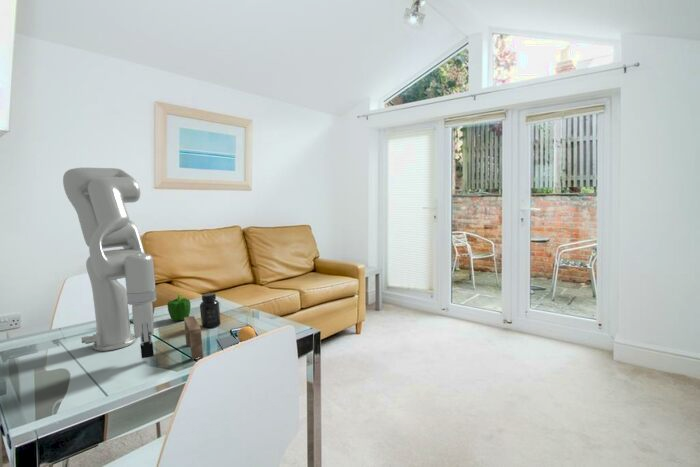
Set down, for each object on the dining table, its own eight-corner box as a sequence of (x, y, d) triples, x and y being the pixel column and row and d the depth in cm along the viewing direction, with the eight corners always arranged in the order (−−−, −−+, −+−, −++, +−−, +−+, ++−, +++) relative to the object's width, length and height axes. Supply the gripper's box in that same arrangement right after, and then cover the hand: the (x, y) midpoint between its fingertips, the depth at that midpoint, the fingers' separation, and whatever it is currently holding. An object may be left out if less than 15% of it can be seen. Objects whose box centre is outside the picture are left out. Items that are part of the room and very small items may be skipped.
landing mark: (224, 351, 122) (224, 350, 122) (216, 339, 132) (216, 338, 132) (261, 343, 127) (261, 342, 127) (251, 332, 138) (251, 331, 138)
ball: (253, 347, 126) (237, 343, 123) (249, 343, 131) (234, 339, 128) (259, 330, 127) (243, 326, 124) (255, 327, 132) (240, 323, 129)
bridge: (192, 360, 116) (190, 330, 115) (186, 344, 128) (184, 317, 127) (203, 357, 117) (200, 328, 116) (195, 342, 130) (193, 315, 129)
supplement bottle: (223, 322, 149) (221, 292, 148) (216, 328, 143) (213, 296, 141) (206, 322, 150) (204, 292, 149) (198, 328, 143) (195, 297, 142)
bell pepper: (182, 323, 150) (180, 298, 149) (164, 322, 152) (162, 297, 151) (196, 316, 158) (194, 292, 157) (179, 315, 160) (177, 291, 159)
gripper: (127, 293, 119) (133, 350, 121) (127, 304, 106) (133, 369, 108) (154, 289, 123) (159, 345, 125) (157, 300, 110) (163, 362, 112)
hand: (147, 356), depth 116 cm, fingers closed
